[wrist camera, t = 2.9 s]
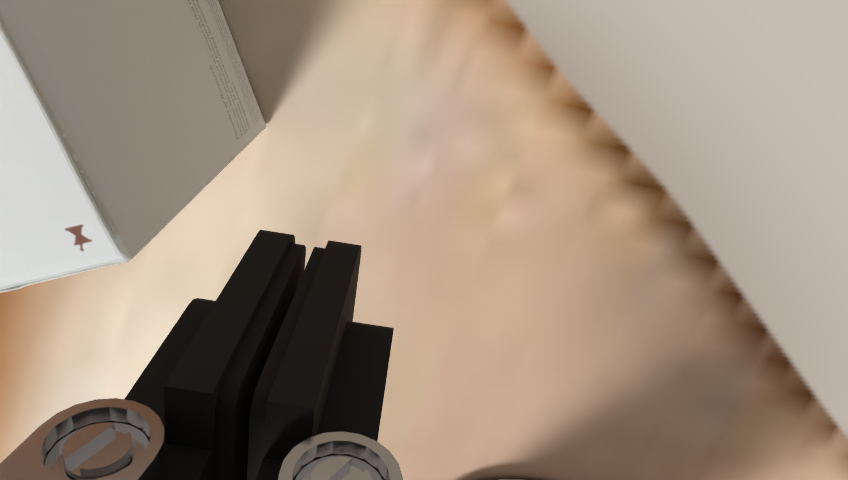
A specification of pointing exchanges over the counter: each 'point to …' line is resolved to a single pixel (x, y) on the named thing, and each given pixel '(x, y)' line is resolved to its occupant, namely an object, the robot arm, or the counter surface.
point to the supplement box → (110, 126)
